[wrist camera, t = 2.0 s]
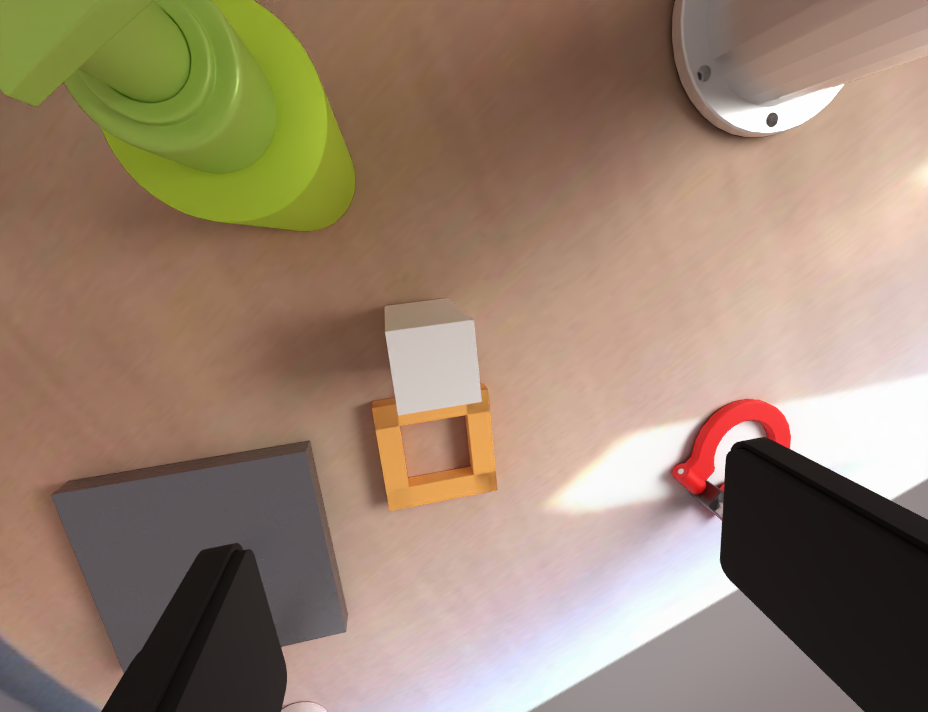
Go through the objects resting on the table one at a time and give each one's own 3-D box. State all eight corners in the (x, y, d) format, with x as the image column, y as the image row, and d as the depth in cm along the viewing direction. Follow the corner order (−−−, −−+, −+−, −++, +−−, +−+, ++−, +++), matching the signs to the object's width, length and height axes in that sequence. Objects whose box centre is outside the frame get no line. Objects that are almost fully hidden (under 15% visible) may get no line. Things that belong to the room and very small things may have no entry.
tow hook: (740, 375, 33) (659, 467, 34) (958, 446, 21) (827, 589, 21) (795, 437, 36) (720, 521, 36) (1018, 531, 24) (902, 658, 24)
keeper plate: (69, 481, 26) (-72, 588, 18) (309, 440, 28) (280, 521, 20) (139, 661, 30) (49, 816, 22) (347, 614, 32) (335, 740, 24)
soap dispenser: (391, 176, 25) (414, -23, 6) (298, 252, 25) (39, 289, 6) (319, 81, 23) (37, -617, 4) (219, 164, 24) (-476, -161, 4)
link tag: (356, 309, 27) (345, 337, 19) (475, 294, 28) (509, 314, 20) (389, 500, 30) (391, 588, 23) (493, 481, 31) (528, 558, 24)
